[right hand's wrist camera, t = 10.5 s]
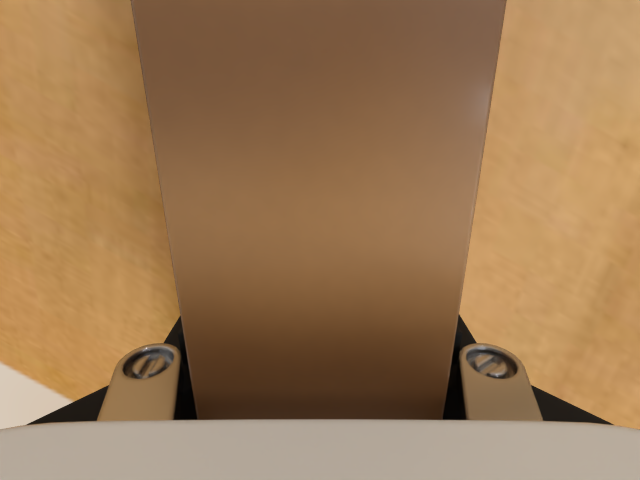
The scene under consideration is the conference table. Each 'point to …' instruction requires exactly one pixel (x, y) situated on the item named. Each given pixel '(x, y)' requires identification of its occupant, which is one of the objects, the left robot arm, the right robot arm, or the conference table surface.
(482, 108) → the beam
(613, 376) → the conference table surface
